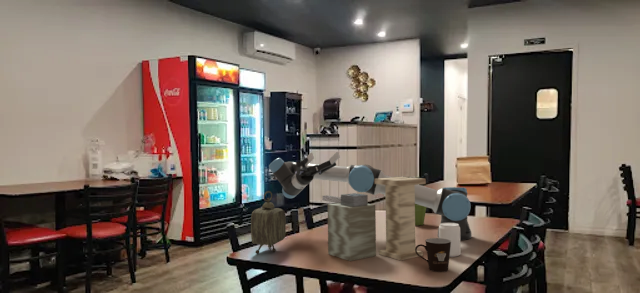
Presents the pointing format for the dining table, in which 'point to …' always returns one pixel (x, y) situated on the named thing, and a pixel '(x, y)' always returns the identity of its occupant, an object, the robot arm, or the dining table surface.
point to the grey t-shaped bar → (348, 199)
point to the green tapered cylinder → (419, 214)
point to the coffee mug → (437, 253)
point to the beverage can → (451, 237)
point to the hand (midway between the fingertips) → (325, 154)
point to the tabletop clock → (268, 225)
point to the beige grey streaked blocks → (360, 224)
